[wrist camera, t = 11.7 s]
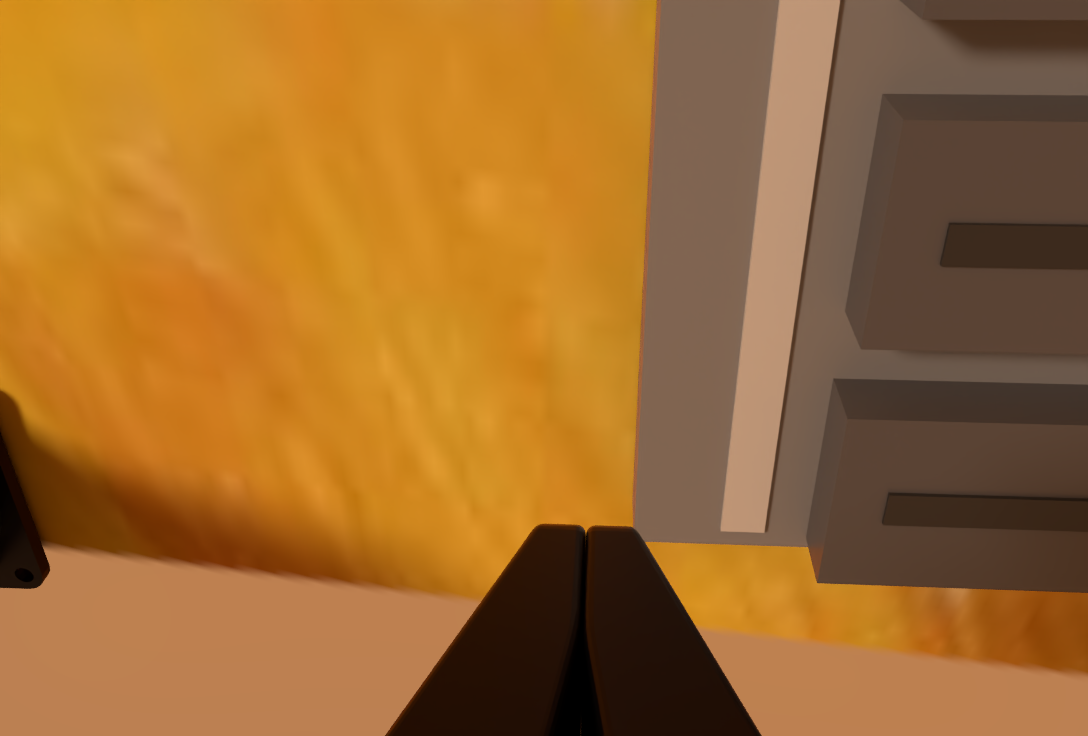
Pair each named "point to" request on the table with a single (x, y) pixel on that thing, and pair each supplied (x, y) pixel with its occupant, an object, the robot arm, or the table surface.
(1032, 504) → the panel
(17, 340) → the table surface
